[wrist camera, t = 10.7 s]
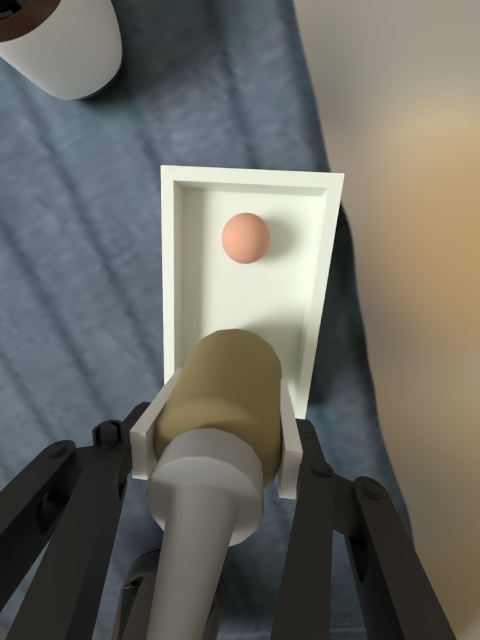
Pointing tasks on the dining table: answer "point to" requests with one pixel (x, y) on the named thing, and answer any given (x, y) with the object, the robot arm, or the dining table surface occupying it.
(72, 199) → the dining table surface
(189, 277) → the tray
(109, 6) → the spread jar
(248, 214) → the egg
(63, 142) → the dining table surface
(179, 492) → the squeeze bottle
